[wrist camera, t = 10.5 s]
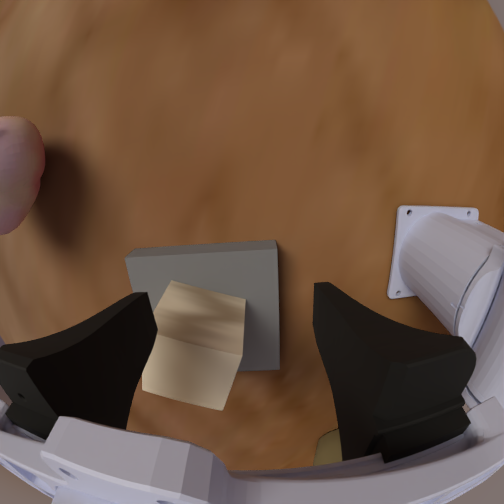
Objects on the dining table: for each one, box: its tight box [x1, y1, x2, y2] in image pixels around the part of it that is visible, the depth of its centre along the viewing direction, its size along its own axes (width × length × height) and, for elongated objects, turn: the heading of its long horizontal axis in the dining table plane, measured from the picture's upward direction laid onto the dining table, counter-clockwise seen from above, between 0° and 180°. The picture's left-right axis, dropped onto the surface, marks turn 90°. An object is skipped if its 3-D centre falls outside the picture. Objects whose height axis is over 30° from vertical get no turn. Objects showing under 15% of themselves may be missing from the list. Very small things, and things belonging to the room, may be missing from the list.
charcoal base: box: [125, 240, 280, 371], centre depth 22 cm, size 11×11×2 cm
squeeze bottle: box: [313, 429, 342, 466], centre depth 22 cm, size 8×8×18 cm
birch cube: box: [142, 280, 246, 410], centre depth 18 cm, size 6×6×6 cm
